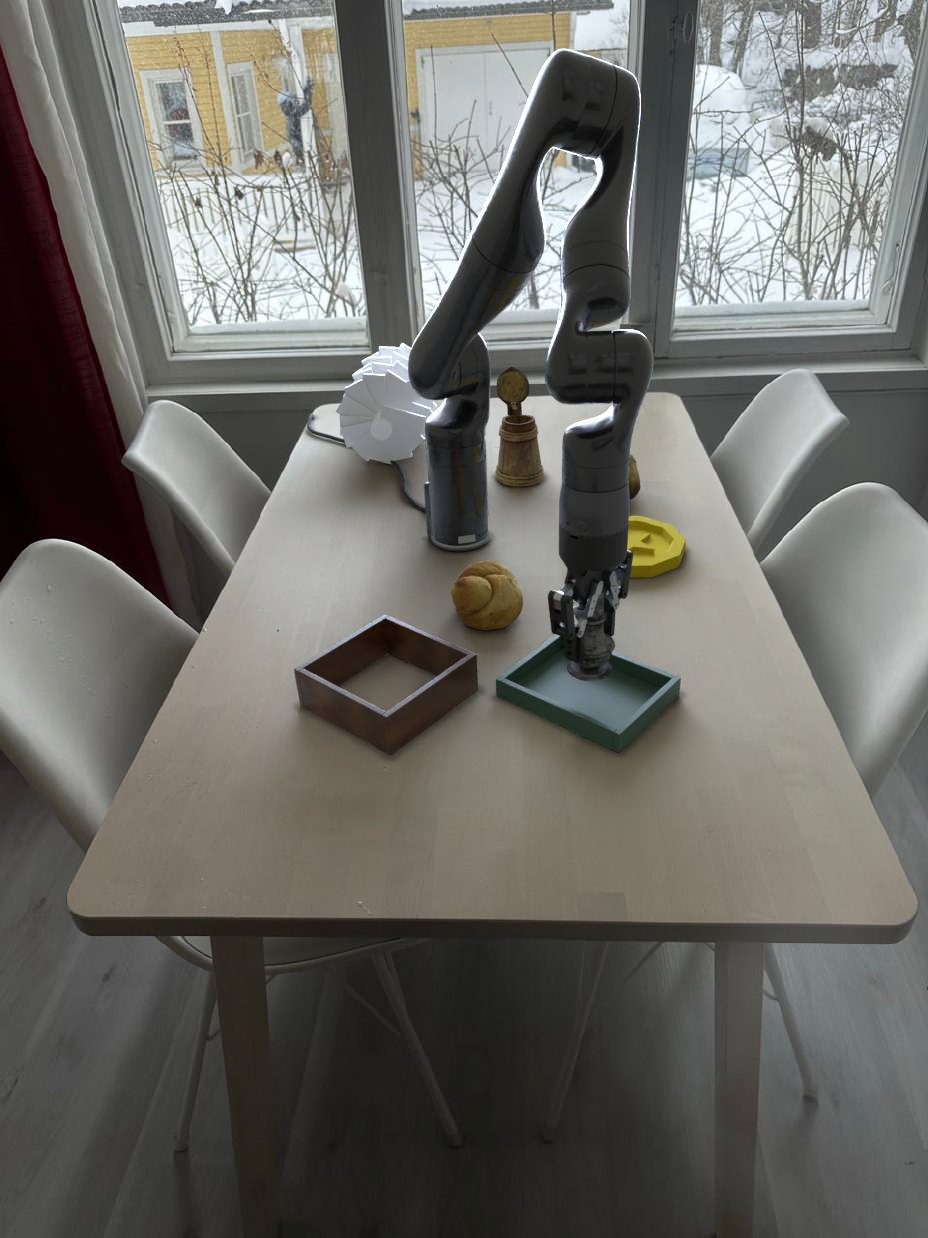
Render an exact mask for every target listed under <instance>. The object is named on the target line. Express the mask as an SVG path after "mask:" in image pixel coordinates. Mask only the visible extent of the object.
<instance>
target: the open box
mask: <svg viewBox="0 0 928 1238" xmlns="http://www.w3.org/2000/svg"><path fill="white" fill-rule="evenodd" d="M388 654H389V655H391V656H393V657H395V658H398V659H399V660H401V661H404V662H406V663H407V664H408V663H409V664H410V665H413V666H415V667H417V668H420V669H421V670H424V671H426V672H427V673H429V674H431V675H434V676H435V677H434V678H433V679H431V680H430V681H429V682H427V683H426V684H424V685H422V686H421V687H420V688H418V689H417V690H416V691H414V692H413V693H411V694H410V695H409V696H407V697H405V698H404V699H403V700H401V701H399V702H398V703H397V704H396V705H394V706H392V707H391V708H389V709H388V710H387V711H385V710H384V709H382V708H380V707H378V706H377V705H374V704H373V703H370V702H368V701H367V700H364V699H362V698H361V697H359V696H357V695H355V694H353V693H351V692H349V691H347V690H346V689H343V688H342V687H340V685H342V684H344V683H345V682H346V681H348V680H350V679H352V678H353V677H355V676H356V675H358V674H359V673H361V672H363V671H364V670H365V669H367V668H369V667H370V666H372V665H373V664H375V663H377V662H378V661H379V660H382V658H384V657H385V656H387V655H388ZM293 672H294V673H293V674H294V678H295V683H296V690H297V695H298V696H297V697H298V702H299V706H300V707H302V708H303V709H305V710H307V711H309V712H311V713H313V714H315V715H317V716H318V717H320V718H322V719H324V720H325V721H327V722H329V723H331V724H333V725H335V726H336V727H338V728H340V729H341V730H344V731H345V732H347V733H349V734H351V735H353V736H354V737H356V738H358V739H359V740H361V741H363V742H365V743H366V744H369V745H371V746H372V747H374V748H376V749H378V750H379V751H381V752H383V753H385V754H387V755H388V756H390V757H391V756H393V755H394V754H395V753H397V752H398V751H400V750H401V749H402V748H403V747H405V746H406V745H408V744H409V743H410V742H412V741H413V740H414V739H416V738H417V737H418V736H420V735H422V733H424V732H425V731H426V730H428V729H429V728H431V727H432V726H433V725H434V724H436V723H438V722H439V721H440V720H441V719H443V718H444V717H445V716H447V715H448V714H449V713H450V712H452V711H453V710H455V709H456V708H457V707H459V706H461V704H463V703H464V702H465V701H467V700H468V699H469V698H471V697H472V696H473V695H475V694H476V693H477V692H479V673H478V653H476V652H473V651H470V650H468V649H466V648H463V647H461V646H460V645H457V644H455V643H452V642H450V641H447V640H445V639H443V638H441V637H439V636H437V635H434V634H432V633H429V632H427V631H425V630H422V629H421V628H417V627H415V626H414V625H411V624H410V623H409V624H408V623H406V622H404V621H403V620H400V619H398V618H396V617H392V616H390V615H388V614H383V615H380V616H379V617H377V618H376V619H375V620H373V621H371V622H370V623H368V624H366V625H365V626H363V627H361V628H360V629H358V630H356V631H355V632H352V633H351V634H350V635H348V636H346V637H345V638H343V639H341V640H339V641H338V642H337V643H334V644H333V645H332V646H330V647H328V648H326V649H324V650H322V651H321V652H320V653H318V654H316V655H314V656H313V657H311V658H309V659H308V660H306V661H305V662H303V663H301V664H300V665H298V666H296V667H295V668H293Z"/></svg>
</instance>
